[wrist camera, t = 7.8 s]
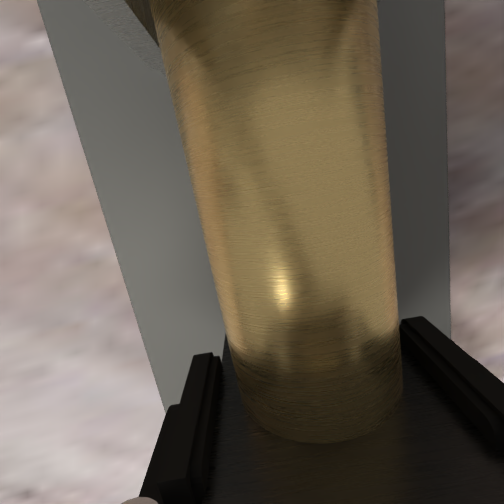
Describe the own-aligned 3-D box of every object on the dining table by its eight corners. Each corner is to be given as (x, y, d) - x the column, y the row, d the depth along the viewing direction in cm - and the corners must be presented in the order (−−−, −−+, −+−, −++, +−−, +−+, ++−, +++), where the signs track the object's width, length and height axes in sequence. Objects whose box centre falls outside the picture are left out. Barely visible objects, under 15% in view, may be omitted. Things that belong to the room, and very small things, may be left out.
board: (-31, -269, 9) (-64, -320, 8) (414, -381, 9) (435, -450, 8) (189, 459, 16) (185, 478, 15) (440, 420, 16) (453, 436, 15)
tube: (139, -39, 8) (-233, -742, 2) (337, -82, 8) (673, -1029, 2) (260, 483, 13) (272, 787, 6) (386, 463, 13) (524, 758, 6)
